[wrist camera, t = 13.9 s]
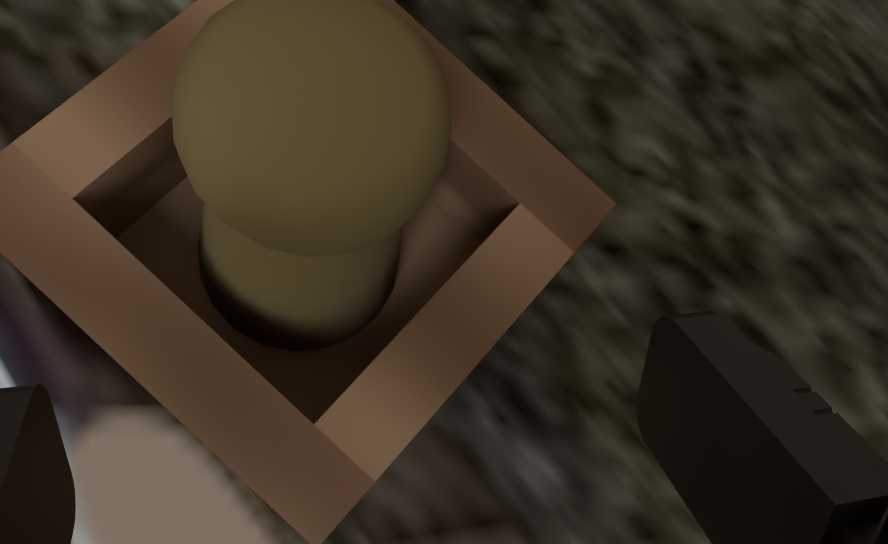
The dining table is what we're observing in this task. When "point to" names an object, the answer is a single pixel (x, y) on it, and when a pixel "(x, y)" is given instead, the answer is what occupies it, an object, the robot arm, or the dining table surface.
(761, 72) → the dining table surface
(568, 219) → the wooden box
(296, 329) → the cork
